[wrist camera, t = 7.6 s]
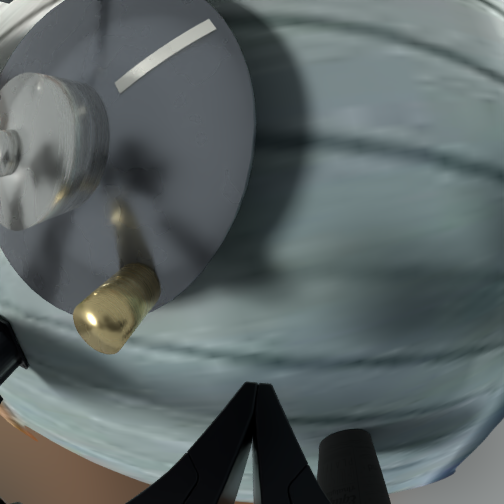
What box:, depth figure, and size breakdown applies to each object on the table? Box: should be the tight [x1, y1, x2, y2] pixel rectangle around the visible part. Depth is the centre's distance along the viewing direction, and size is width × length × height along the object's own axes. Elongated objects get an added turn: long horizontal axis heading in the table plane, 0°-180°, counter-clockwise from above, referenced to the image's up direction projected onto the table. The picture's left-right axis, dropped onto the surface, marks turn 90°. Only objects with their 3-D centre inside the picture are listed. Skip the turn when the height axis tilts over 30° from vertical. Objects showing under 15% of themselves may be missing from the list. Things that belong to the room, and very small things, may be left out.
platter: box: [0, 0, 257, 354], centre depth 10 cm, size 20×20×5 cm
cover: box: [0, 72, 110, 231], centre depth 9 cm, size 7×7×4 cm
